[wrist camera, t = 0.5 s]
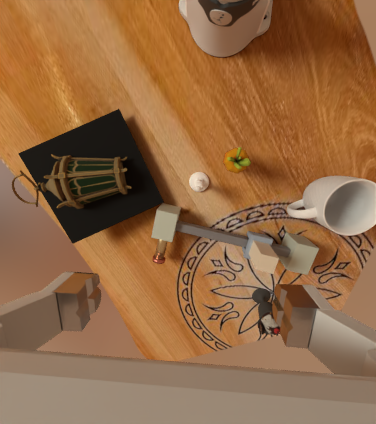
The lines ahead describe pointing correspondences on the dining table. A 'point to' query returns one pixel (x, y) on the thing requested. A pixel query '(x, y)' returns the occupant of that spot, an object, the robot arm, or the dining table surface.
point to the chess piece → (199, 181)
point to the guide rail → (236, 239)
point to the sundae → (265, 312)
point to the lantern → (91, 176)
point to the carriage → (261, 252)
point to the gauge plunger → (160, 252)
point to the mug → (339, 204)
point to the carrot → (236, 160)
